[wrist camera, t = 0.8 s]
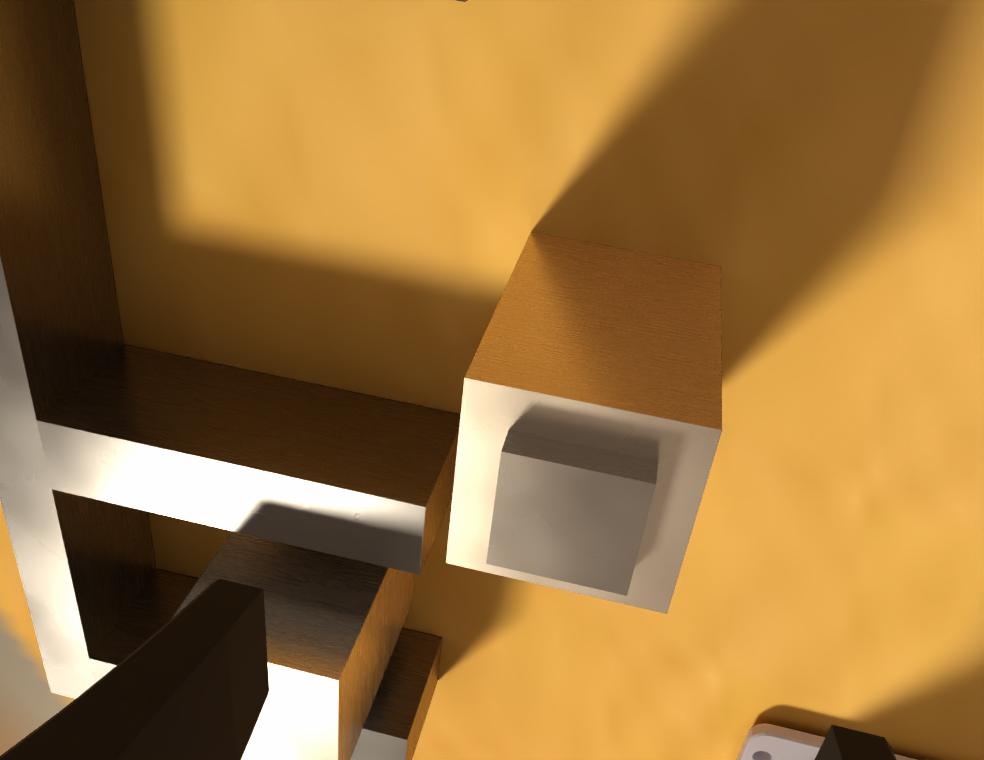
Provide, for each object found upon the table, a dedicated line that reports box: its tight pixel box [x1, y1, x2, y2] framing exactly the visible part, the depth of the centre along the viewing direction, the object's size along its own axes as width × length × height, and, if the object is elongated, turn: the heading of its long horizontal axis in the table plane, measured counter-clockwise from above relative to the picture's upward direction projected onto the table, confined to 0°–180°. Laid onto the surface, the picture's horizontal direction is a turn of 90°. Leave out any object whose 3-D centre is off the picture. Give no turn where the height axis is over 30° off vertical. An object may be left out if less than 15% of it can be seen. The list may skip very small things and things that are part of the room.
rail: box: [0, 0, 467, 760], centre depth 20 cm, size 22×10×4 cm, turn 175°
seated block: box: [173, 531, 413, 760], centre depth 22 cm, size 4×4×6 cm
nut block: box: [446, 232, 722, 614], centre depth 17 cm, size 4×4×7 cm
